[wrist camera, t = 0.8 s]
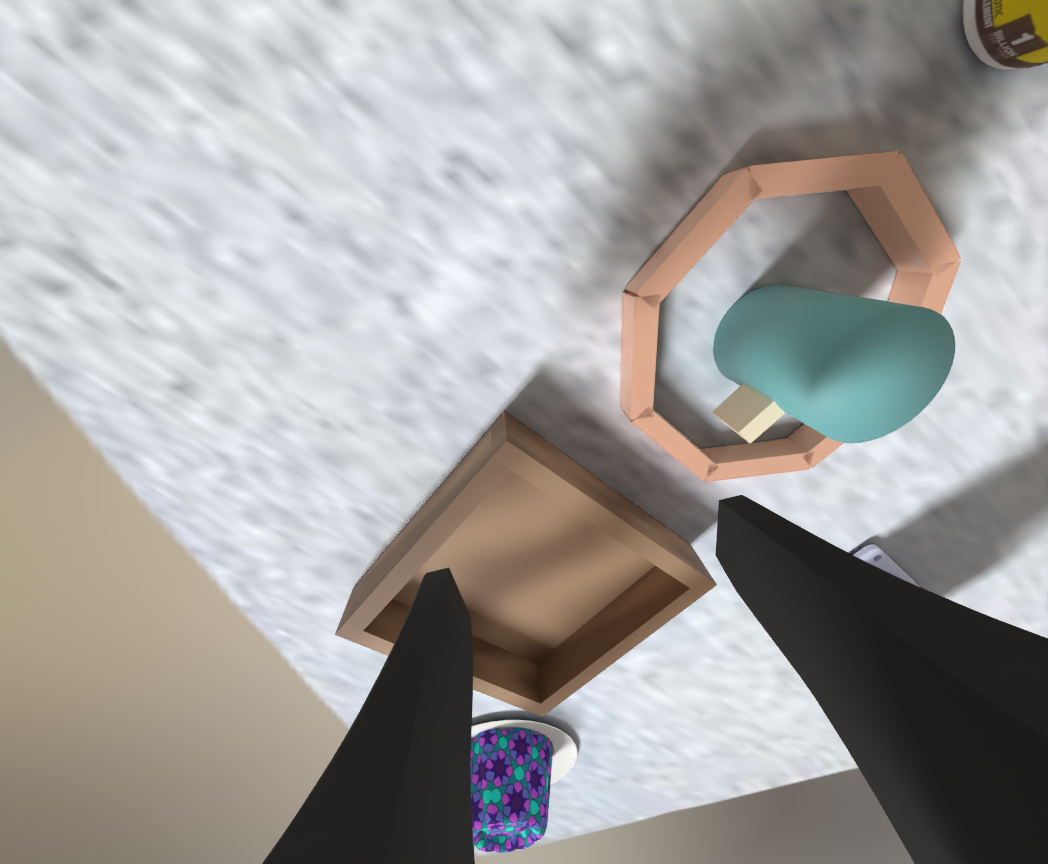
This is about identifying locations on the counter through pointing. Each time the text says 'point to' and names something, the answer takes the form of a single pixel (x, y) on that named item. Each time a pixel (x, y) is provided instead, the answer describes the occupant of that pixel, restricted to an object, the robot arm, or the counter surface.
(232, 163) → the counter surface
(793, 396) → the teal tapered cylinder
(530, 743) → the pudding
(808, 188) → the collar
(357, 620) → the tray
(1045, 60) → the supplement bottle
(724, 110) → the counter surface
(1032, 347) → the counter surface
